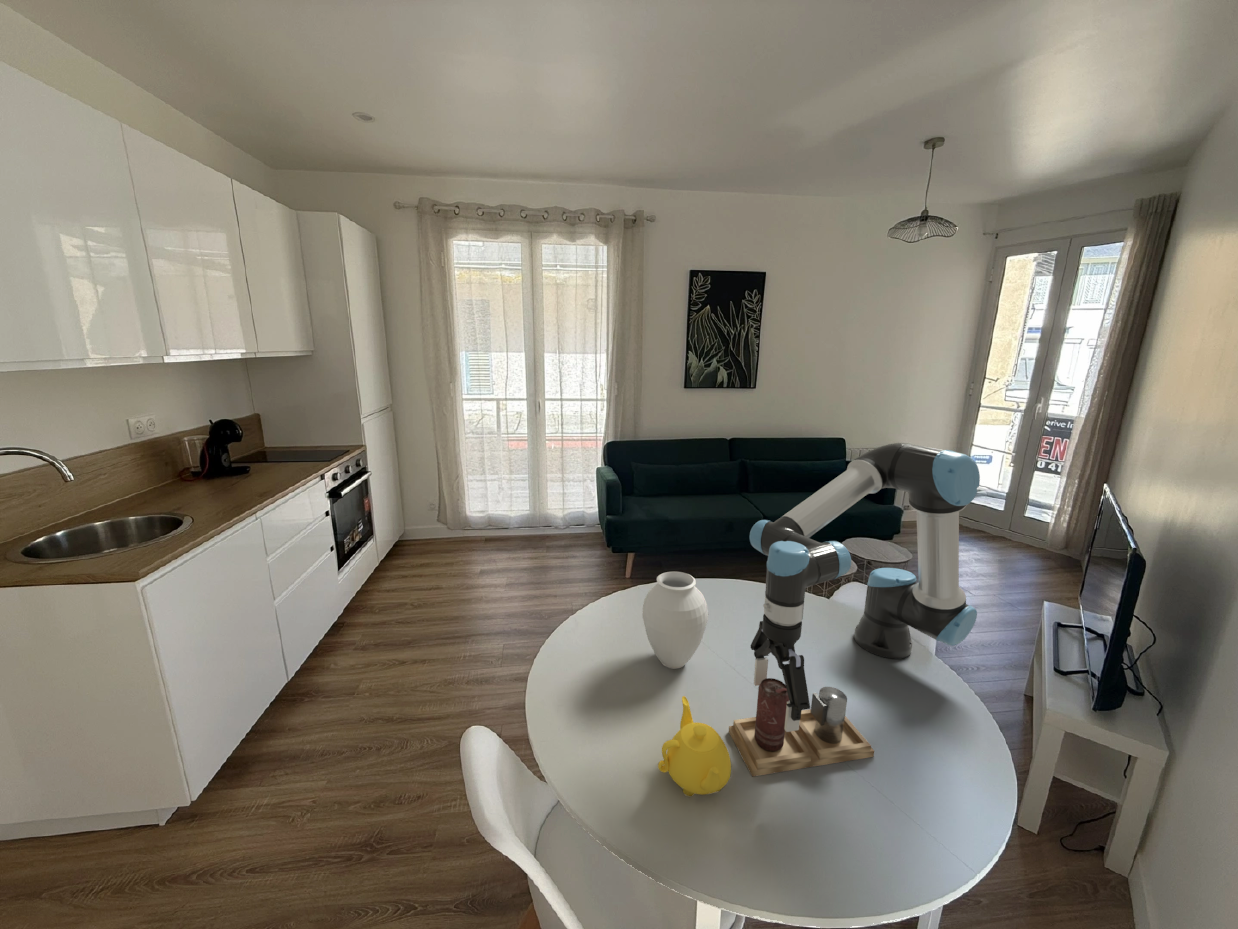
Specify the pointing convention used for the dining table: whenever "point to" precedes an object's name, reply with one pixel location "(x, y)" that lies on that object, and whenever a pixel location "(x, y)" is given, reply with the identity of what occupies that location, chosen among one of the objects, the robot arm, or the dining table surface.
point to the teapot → (696, 757)
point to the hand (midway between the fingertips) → (774, 705)
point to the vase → (675, 618)
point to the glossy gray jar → (829, 714)
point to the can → (771, 714)
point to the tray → (797, 747)
